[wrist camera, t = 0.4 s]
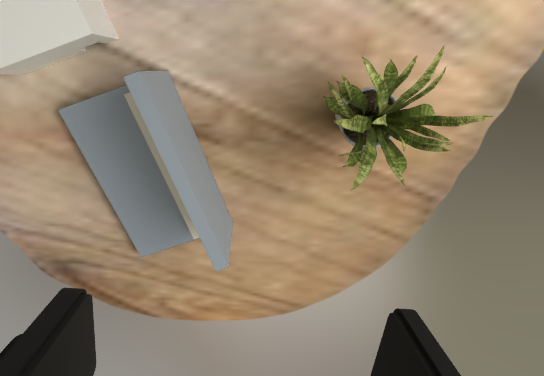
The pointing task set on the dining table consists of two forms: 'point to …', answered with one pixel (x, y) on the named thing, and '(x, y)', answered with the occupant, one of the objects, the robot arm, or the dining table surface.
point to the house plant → (388, 118)
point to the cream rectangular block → (49, 32)
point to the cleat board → (152, 166)
